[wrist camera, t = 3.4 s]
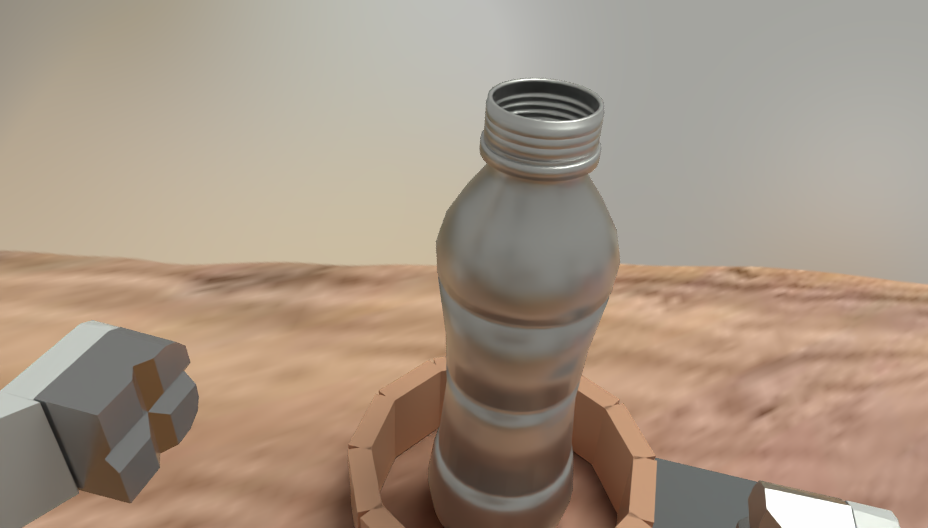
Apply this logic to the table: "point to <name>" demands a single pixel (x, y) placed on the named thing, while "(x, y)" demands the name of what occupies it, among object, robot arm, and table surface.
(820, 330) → the table surface
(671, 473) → the charcoal mat
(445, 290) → the silver metal bottle
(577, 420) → the terracotta segmented ring
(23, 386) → the robot arm
